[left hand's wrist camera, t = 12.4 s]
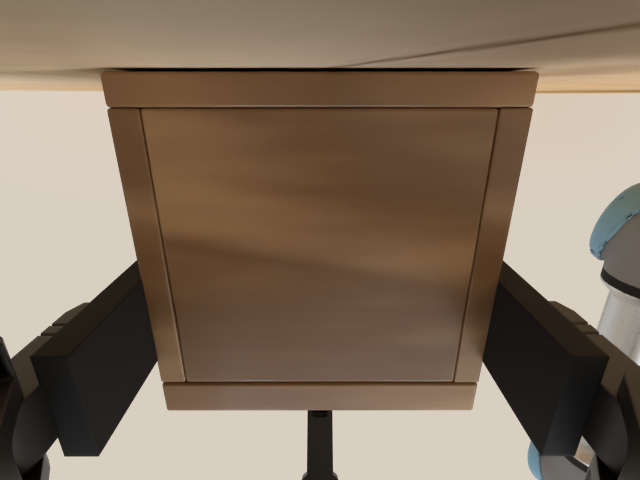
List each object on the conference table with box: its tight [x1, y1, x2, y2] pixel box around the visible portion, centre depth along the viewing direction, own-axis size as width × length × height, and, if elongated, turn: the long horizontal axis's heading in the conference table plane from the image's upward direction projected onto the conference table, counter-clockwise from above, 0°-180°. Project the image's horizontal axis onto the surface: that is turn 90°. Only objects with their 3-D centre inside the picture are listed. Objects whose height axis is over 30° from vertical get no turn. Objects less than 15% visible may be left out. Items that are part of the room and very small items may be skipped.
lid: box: [163, 380, 477, 410], centre depth 20 cm, size 15×10×8 cm, turn 0°
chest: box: [101, 71, 539, 382], centre depth 16 cm, size 14×10×9 cm
